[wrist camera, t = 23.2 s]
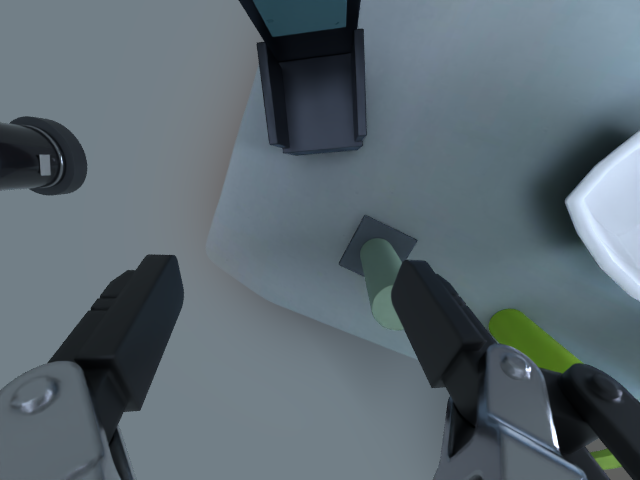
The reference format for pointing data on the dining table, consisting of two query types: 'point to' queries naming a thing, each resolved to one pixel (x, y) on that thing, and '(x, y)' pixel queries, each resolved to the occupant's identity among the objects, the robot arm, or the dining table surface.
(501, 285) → the dining table surface
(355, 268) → the coaster
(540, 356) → the soap dispenser
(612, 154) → the bowl
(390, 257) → the green cylinder
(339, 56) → the navy chair block
